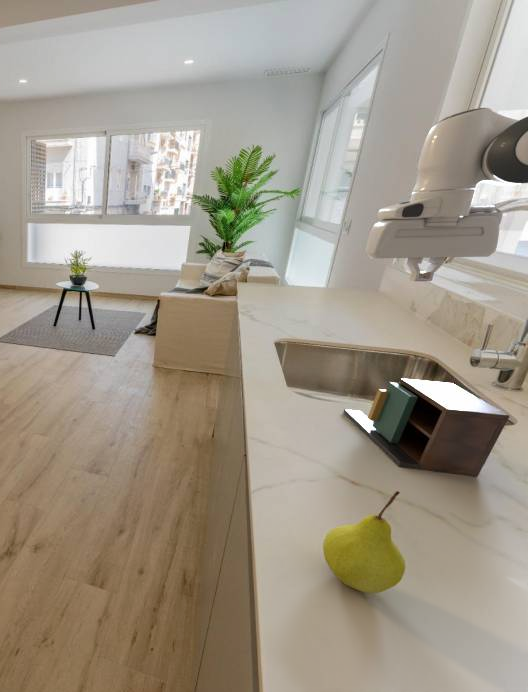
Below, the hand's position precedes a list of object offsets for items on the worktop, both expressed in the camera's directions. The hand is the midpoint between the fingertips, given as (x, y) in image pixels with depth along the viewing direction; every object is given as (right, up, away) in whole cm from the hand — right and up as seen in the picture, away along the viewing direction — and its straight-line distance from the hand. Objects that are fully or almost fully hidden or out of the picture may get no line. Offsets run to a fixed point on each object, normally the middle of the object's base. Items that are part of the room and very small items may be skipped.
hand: (420, 281), depth 85 cm
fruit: (-43, -42, -37) cm, 71 cm away
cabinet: (-12, -31, -9) cm, 34 cm away
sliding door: (-16, -29, -9) cm, 34 cm away
